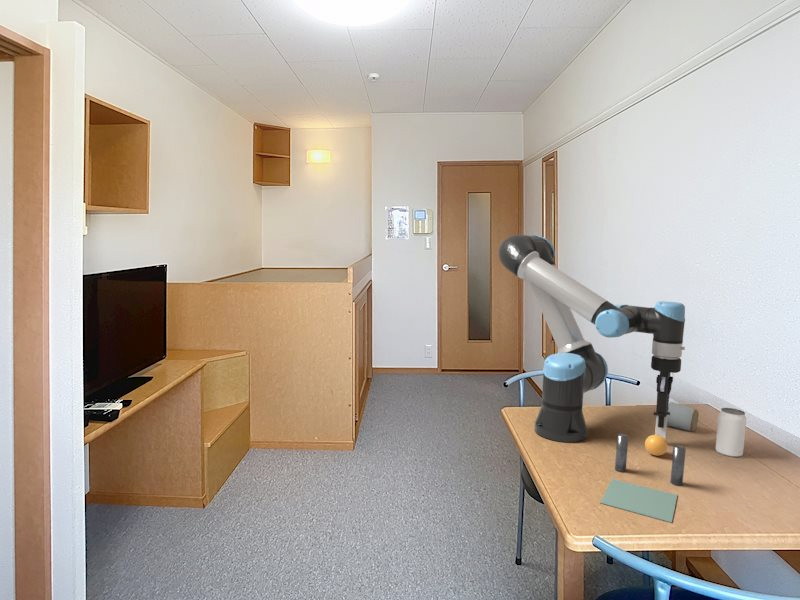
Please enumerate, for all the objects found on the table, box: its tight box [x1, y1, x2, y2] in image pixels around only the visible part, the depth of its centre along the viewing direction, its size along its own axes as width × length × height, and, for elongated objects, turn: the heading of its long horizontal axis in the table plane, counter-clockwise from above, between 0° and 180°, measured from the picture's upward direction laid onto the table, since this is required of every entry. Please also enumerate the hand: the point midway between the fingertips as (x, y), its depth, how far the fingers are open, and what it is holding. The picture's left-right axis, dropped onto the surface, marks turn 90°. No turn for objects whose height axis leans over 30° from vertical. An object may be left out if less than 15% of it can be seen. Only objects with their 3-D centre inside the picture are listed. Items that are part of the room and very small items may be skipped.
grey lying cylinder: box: [667, 401, 699, 432], centre depth 163 cm, size 11×8×8 cm
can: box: [715, 407, 747, 458], centre depth 143 cm, size 6×6×12 cm
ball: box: [644, 434, 668, 457], centre depth 140 cm, size 6×6×6 cm
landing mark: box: [600, 478, 678, 524], centre depth 116 cm, size 14×14×1 cm
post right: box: [670, 444, 687, 487], centre depth 123 cm, size 3×3×9 cm
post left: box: [614, 433, 630, 473], centre depth 130 cm, size 3×3×9 cm
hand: (660, 437), depth 148 cm, fingers closed
